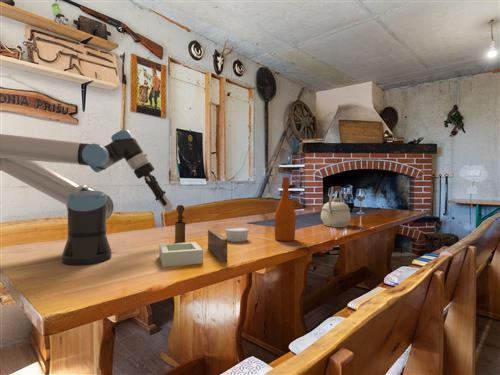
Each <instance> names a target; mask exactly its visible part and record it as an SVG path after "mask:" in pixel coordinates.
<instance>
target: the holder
mask: <svg viewBox="0 0 500 375" xmlns="http://www.w3.org/2000/svg"><path fill="white" fill-rule="evenodd" d="M185 242H186V241H185ZM158 246H159V250H158V252H159V260H160V263H161V267H162V268H165V267H174V266H176V267H177V266H178V267H179V266H188V265H198V264H199V265H200V264H203V263H204V249H203V248H202V247H201V246H200V245H199V244H198V243H197V241H190V242H186V243H174V242H172V243H171V242H170V243H159V245H158Z"/></svg>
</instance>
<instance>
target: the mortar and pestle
mask: <svg viewBox="0 0 500 375" xmlns="http://www.w3.org/2000/svg"><path fill="white" fill-rule="evenodd" d="M175 208H176V209H175V210H176V212H177V214H178V215H177V221H175V222H174V223H175V224H174V242H173V243H186V222H185V221H183V220H184V215H183V213H184V211H185V207H184V205H183V204H179V205H177V206H176V207H175Z"/></svg>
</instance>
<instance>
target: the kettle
mask: <svg viewBox="0 0 500 375" xmlns="http://www.w3.org/2000/svg"><path fill="white" fill-rule="evenodd" d="M334 191H336V192H337V191H338V195H339V198H338V197H334ZM333 197H334V198H333ZM350 211H351V208H350V207H349V205H348V204H347V203H345V202H343V195H342V186H340V185H339V186H336V185H335V186H330V195H329V199H328V202H326V203H324V204H323V205H322V207H321V212H320V220H321V221H322V222H323V225H324V226H325V225H326V226H325V227H330V226H331V227H330V228H345V226H346V227H348V224H349V223H350V221H351V219H352V216H351V212H350Z"/></svg>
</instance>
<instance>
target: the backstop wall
mask: <svg viewBox="0 0 500 375" xmlns="http://www.w3.org/2000/svg"><path fill="white" fill-rule="evenodd" d="M207 250H208V251H209V252H210V253H211V254H212V255H213V256H215V257H216V258H217V259H218V260H219V261H220V262H221V263H226V262H228V239H227V238H226V236H224V235H222V234H220V233H219V232H217V231H216V230H215V229H208V230H207Z"/></svg>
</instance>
